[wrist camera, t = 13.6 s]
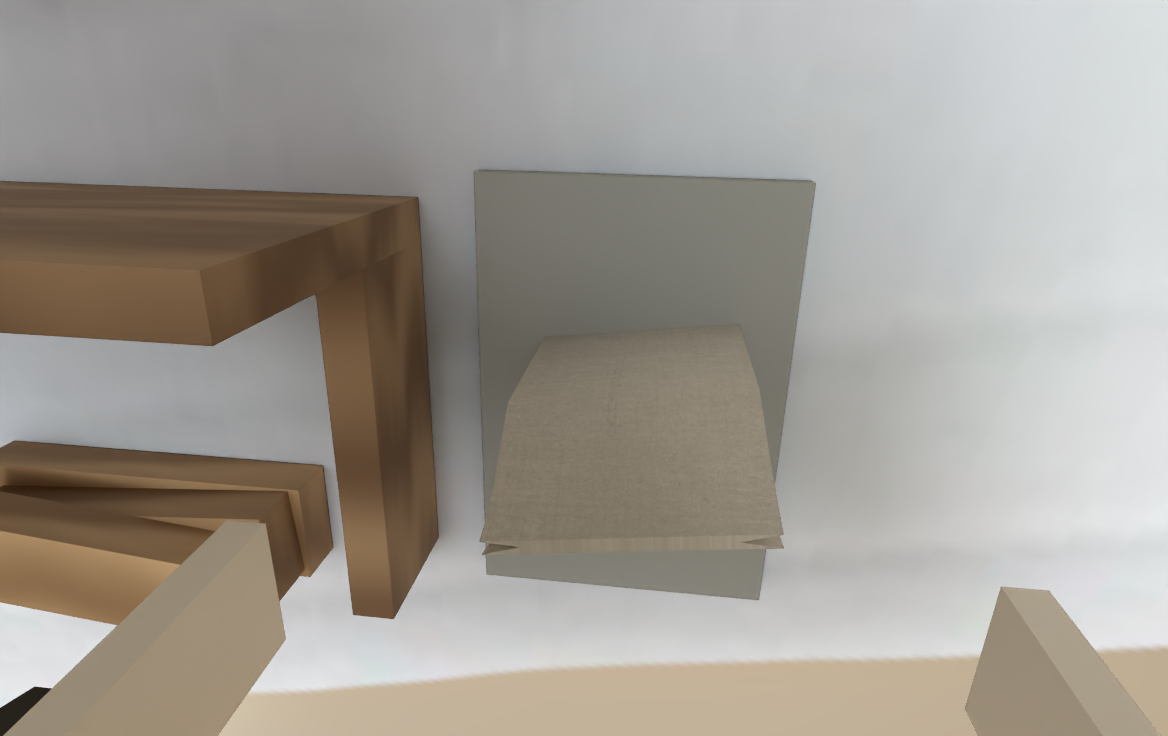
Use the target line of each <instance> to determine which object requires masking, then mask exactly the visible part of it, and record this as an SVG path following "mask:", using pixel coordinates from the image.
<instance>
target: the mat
mask: <svg viewBox="0 0 1168 736" xmlns="http://www.w3.org/2000/svg"><path fill="white" fill-rule="evenodd" d="M815 185H816V183H815V182H813V181H806V180H776V179H746V178H717V177H687V176H657V175H628V174H598V173H568V172H539V171H509V170H477V171H474V196H475V227H476V259H477V290H478V321H479V353H480V384H481V415H482V446H483V478H484V509H485V521H486V517H487V513H488V508H489V503H490V498H491V494H492V489H493V484H494V479H495V473H496V468H497V462H498V456H499V451H500V445H501V439H502V434H503V428H504V422H505V417H506V411H507V405H508V401H509V400H510V398H511V396H512V394H513V392H514V391H515V389H516V387H517V385H518V384H519V382H520V380H521V378H522V377H523V375H524V373H525V371H526V369H527V368H528V366H529V364H530V362H531V361H532V359H533V357H534V355H535V353H536V352H537V350H538V348H539V346H540V345H541V343H542V341H543V339H544V337H552V336H567V335H582V334H596V333H611V332H626V331H641V330H655V329H670V328H685V327H700V326H714V325H729V324H739V326H740V329H741V332H742V335H743V338H744V342H745V345H746V348H747V351H748V354H749V357H750V360H751V364H752V367H753V370H754V373H755V376H756V379H757V382H758V386H759V389H760V395H761V402H762V408H763V415H764V421H765V427H766V434H767V440H768V447H769V453H770V460H771V466H772V472H773V478H774V484H775V479H776V471H777V464H778V457H779V449H780V442H781V435H782V427H783V420H784V413H785V405H786V398H787V391H788V383H789V376H790V369H791V361H792V354H793V347H794V339H795V332H796V325H797V317H798V310H799V303H800V295H801V288H802V280H803V273H804V266H805V258H806V251H807V244H808V236H809V229H810V222H811V214H812V207H813V200H814V192H815ZM488 545H489V543H486V548H487V546H488ZM765 552H766V549H732V550H684V551H635V552H586V553H538V554H489V555H486V572H487V574H488V575H499V576H509V577H520V578H530V579H541V580H551V581H562V582H572V583H583V584H593V585H604V586H614V587H625V588H635V589H646V590H656V591H667V592H678V593H688V594H699V595H709V596H720V597H730V598H741V599H751V600H759V596H760V589H761V582H762V574H763V567H764V560H765Z"/></svg>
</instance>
